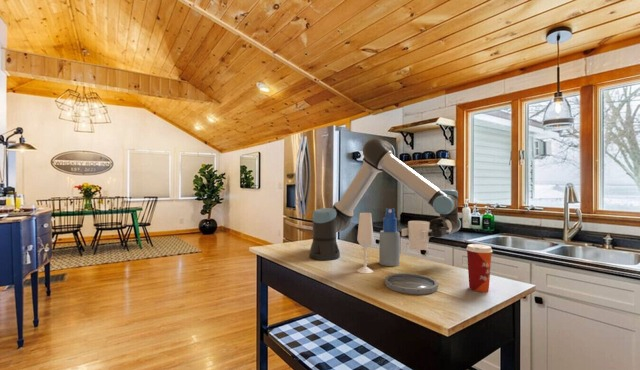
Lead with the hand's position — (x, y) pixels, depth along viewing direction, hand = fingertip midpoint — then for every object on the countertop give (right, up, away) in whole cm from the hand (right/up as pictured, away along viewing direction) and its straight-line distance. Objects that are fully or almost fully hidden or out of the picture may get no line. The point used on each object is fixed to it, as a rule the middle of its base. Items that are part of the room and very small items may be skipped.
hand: (412, 233), depth 118 cm
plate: (-2, -18, -4) cm, 18 cm away
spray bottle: (-3, -18, +25) cm, 31 cm away
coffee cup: (+21, -18, -8) cm, 29 cm away
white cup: (+3, -6, +4) cm, 8 cm away
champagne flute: (-16, -18, +14) cm, 28 cm away
